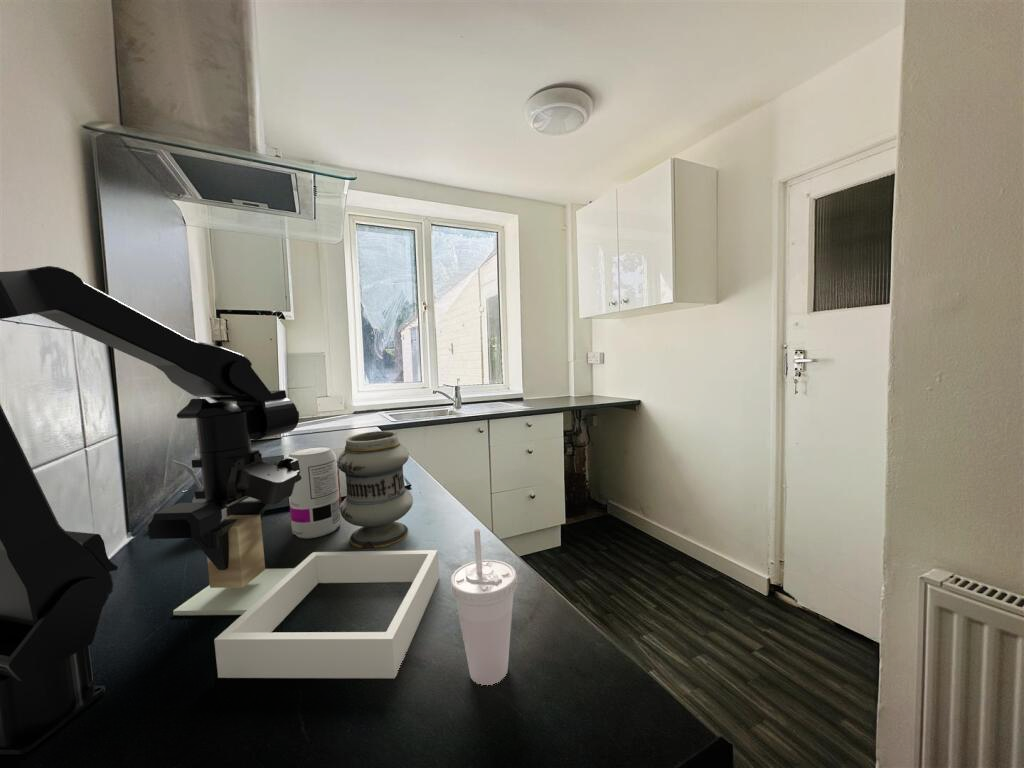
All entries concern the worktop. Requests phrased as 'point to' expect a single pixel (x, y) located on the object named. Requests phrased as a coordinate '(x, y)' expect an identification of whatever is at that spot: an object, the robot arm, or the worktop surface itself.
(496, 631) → the smoothie
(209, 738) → the worktop surface
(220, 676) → the white square frame
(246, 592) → the sage mat
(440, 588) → the worktop surface
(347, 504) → the apothecary jar
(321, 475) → the supplement can
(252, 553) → the maple block
